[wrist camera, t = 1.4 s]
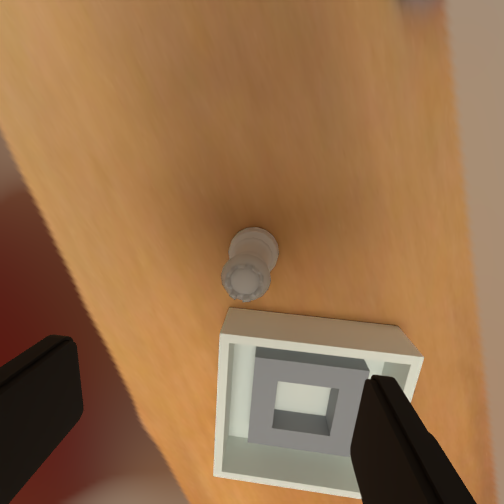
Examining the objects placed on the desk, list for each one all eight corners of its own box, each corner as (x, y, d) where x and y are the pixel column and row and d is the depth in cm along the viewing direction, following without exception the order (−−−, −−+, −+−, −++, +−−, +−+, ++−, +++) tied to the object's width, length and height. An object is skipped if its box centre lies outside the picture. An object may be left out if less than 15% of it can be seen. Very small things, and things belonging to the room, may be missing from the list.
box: (229, 307, 25) (219, 333, 21) (397, 325, 24) (424, 357, 20) (222, 433, 30) (213, 476, 25) (365, 453, 29) (380, 502, 24)
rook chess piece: (289, 253, 23) (295, 289, 16) (251, 282, 24) (240, 328, 17) (257, 215, 23) (248, 233, 15) (220, 246, 24) (193, 278, 16)
